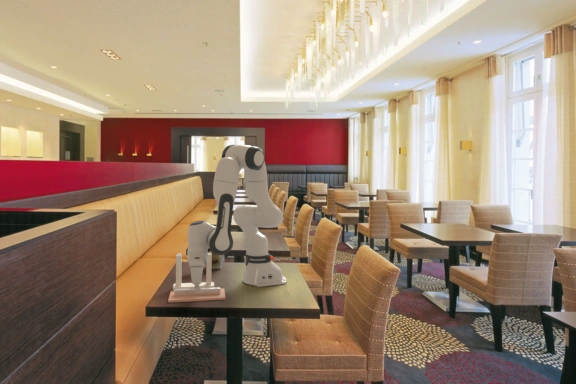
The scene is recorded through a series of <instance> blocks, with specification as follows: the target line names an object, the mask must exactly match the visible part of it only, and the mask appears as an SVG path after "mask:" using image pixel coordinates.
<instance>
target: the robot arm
mask: <svg viewBox="0 0 576 384" xmlns="http://www.w3.org/2000/svg"><path fill="white" fill-rule="evenodd" d="M217 162H218V163H217V165H216V169H215V172H214V178H213V182H212V184H213V185H212V192H213V197H214V199H215V202H216V206H217V215H216V225H213V224H210V223H209V222H207V221H206V220H197V221H193V222H191V223H190V224H189V225H188V229H187V260H186V261H187V263H188V267H190V277H191V278H190V279H191V283H192V284H194V285H195V292H199V284H201V282H202V279H203V273H204V272H203V271H204V267H205V266H206V262H207V261H208V249H209V248H210V249H211V251H212V252H213V253H214V254H216V255H224V256H225V255H227V254H229V253H230V252H231V250H232V248H233V247H234V246H233V245H234V240H233V235H232V220H233V222H234V223H235V224H236V225H238V227H239V228H240V229H241V230H242V232H243V234H244V238H245V248H246V249H245V250H246V251H245V252H246V253H245V257H244V264H245V265H244V266H245V268H244V275H243V278H242V280H241V281H242V282H243V283H244V284H247V285H251V286H254V287H260V288H261V287H268V286H270V287H271V286H277V285H285V284H287V278H286V276H284V275H283V270H282V269H281V267H280V266H279V265H277V263H275V262H273V261H274V258H275V257H274V256H273V255H272V254H271V253H269V240H268V238H267V236H266V235H265V234H263V233H261V232H260V229H259V228H265V229H266V228H267V229H271V228H277V227H280V226H281V224H282V222H283V220H284V219H283V218H284V215H283V212H282V210H281V208H280V207H278V205H276V204H275V203H274V202H273V200H272V198H271V197H270V196H271V195H270V193H269V185H268V172H267V165H266V162H265V154H264V151H263V149H262V148H260V147H258V146H255V145H253V146H252V145H248V144H229V145H227V146H225V148H224V149H223V151H222V153H221V158H220V159H219V160H218V161H217ZM243 169H244V185H245V194H246V197H247V198H248V199H250V200H252V201H253V202H254V204H244V205H243V204H242V205H238V206H236V208H235V209H234V205H235V202H236V197H237V194H238V190H239V189H238V188H239V182H240V172H241V170H243ZM255 204H256V205H255Z"/></svg>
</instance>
